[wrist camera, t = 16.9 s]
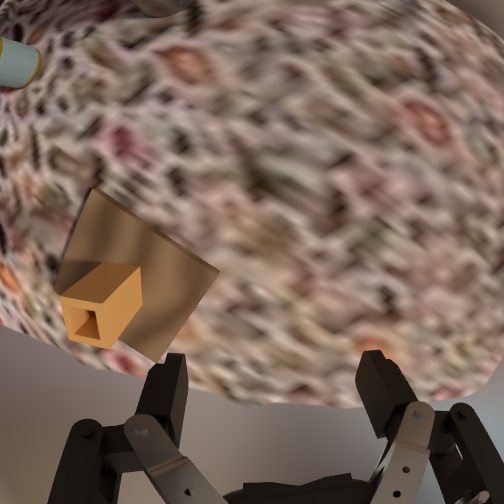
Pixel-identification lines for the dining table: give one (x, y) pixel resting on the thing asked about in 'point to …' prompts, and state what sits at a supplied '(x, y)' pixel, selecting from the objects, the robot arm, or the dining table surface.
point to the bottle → (17, 63)
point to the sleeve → (102, 304)
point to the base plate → (151, 268)
